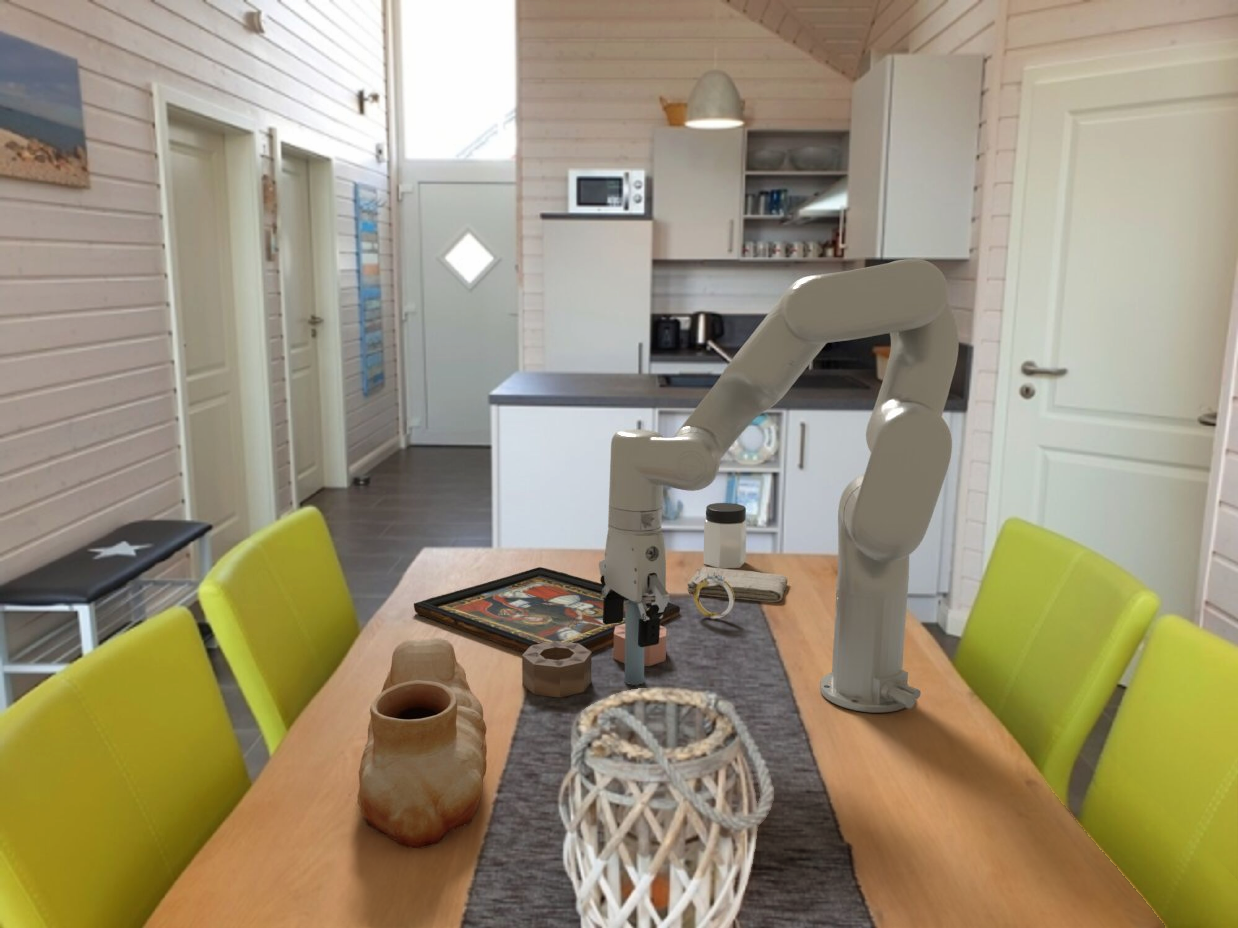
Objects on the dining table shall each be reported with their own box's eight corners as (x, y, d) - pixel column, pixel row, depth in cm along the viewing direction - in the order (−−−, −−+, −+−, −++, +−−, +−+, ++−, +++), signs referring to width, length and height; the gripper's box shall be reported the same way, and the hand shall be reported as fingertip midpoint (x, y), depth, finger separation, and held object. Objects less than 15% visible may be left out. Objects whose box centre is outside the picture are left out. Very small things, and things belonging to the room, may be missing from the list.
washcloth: (697, 577, 189) (697, 562, 189) (788, 586, 185) (789, 570, 184) (685, 596, 178) (685, 580, 178) (781, 605, 173) (782, 589, 173)
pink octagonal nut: (676, 656, 148) (677, 632, 147) (638, 669, 143) (638, 644, 142) (641, 641, 154) (642, 618, 153) (603, 653, 148) (603, 629, 148)
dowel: (647, 682, 138) (648, 603, 136) (631, 686, 136) (632, 606, 134) (637, 676, 140) (638, 598, 138) (620, 679, 139) (621, 601, 137)
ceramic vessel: (486, 731, 122) (484, 620, 120) (488, 849, 97) (486, 711, 94) (376, 737, 121) (371, 625, 118) (348, 859, 95) (341, 719, 92)
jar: (710, 555, 203) (712, 500, 201) (748, 559, 201) (750, 504, 199) (699, 566, 195) (700, 509, 193) (738, 571, 192) (740, 513, 190)
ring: (735, 619, 165) (737, 574, 163) (728, 624, 162) (730, 579, 160) (698, 612, 168) (699, 568, 166) (691, 617, 165) (692, 573, 164)
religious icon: (691, 610, 171) (692, 595, 170) (576, 675, 142) (576, 657, 141) (526, 573, 191) (526, 560, 191) (395, 624, 162) (395, 608, 162)
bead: (600, 687, 136) (600, 658, 135) (542, 701, 131) (542, 670, 130) (570, 665, 144) (570, 637, 143) (514, 678, 139) (514, 648, 138)
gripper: (692, 530, 128) (685, 650, 132) (625, 502, 143) (621, 611, 146) (645, 535, 125) (639, 659, 128) (582, 507, 139) (578, 618, 142)
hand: (630, 633), depth 137 cm, fingers open, 9 cm apart
